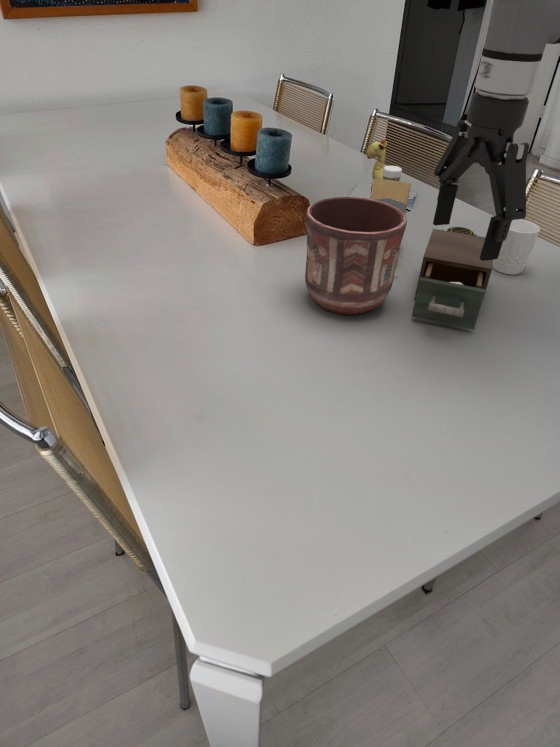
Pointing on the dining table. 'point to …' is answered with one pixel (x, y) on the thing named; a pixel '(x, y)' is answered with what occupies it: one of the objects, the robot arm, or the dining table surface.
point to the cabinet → (456, 253)
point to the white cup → (516, 247)
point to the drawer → (449, 295)
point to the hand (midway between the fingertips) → (463, 240)
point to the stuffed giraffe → (381, 162)
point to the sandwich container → (391, 194)
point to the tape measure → (461, 230)
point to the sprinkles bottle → (392, 173)
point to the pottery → (352, 252)
